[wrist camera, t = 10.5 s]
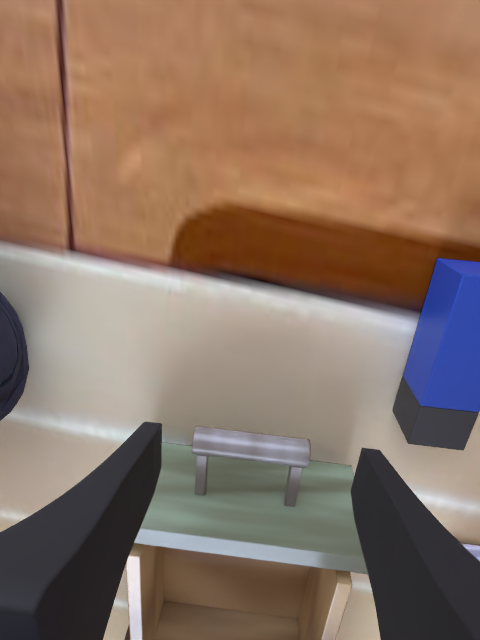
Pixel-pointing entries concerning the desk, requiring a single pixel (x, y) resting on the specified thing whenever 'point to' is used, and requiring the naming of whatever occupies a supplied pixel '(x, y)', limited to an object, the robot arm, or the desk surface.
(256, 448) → the drawer
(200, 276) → the desk surface
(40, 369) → the desk surface
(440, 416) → the eraser
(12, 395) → the portable speaker
